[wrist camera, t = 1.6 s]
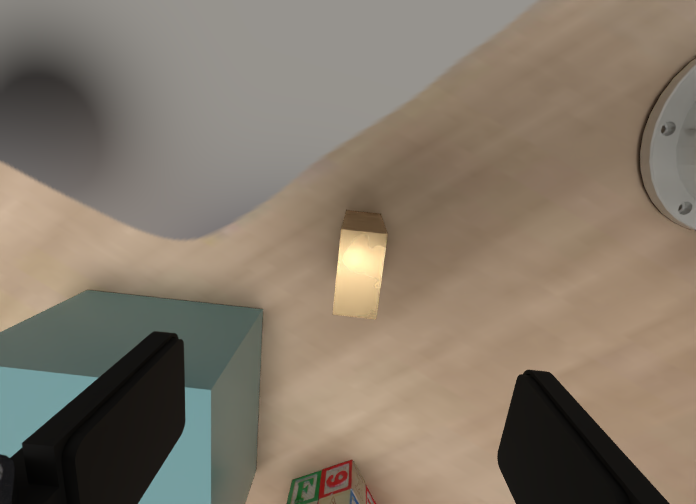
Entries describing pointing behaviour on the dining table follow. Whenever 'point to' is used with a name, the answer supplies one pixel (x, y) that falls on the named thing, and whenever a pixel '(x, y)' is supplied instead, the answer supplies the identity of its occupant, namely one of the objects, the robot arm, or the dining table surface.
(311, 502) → the stack of blocks
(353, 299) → the tan flat block
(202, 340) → the coin box
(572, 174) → the dining table surface
